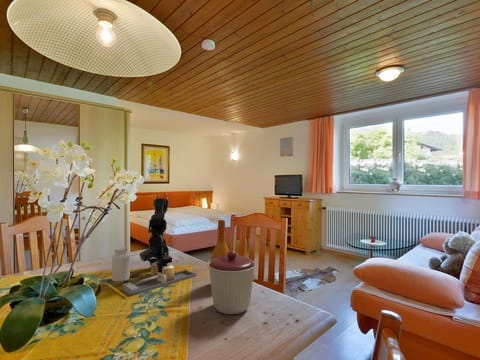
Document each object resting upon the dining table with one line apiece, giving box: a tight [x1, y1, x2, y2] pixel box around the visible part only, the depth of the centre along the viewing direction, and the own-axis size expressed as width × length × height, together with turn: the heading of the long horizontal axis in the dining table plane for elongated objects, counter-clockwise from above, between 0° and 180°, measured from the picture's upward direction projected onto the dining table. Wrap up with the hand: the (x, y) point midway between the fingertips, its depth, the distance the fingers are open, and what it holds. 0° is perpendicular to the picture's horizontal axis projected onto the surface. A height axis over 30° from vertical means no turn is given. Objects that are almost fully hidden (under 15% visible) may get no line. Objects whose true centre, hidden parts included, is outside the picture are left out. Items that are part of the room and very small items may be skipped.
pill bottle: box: [111, 246, 131, 282], centre depth 126 cm, size 8×8×15 cm
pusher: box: [138, 272, 166, 283], centre depth 117 cm, size 7×11×4 cm, turn 136°
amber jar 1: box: [150, 262, 158, 277], centre depth 130 cm, size 6×6×7 cm
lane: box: [122, 268, 197, 297], centre depth 121 cm, size 9×32×3 cm, turn 136°
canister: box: [207, 250, 257, 315], centre depth 98 cm, size 18×18×21 cm
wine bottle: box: [210, 219, 230, 261], centre depth 118 cm, size 10×10×30 cm
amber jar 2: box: [162, 264, 175, 282], centre depth 123 cm, size 6×6×7 cm
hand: (157, 274), depth 130 cm, fingers closed on amber jar 1, 6 cm apart
